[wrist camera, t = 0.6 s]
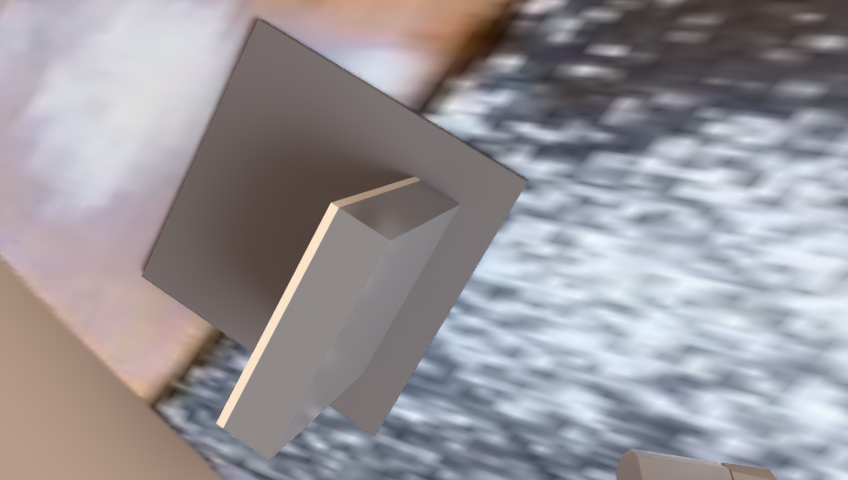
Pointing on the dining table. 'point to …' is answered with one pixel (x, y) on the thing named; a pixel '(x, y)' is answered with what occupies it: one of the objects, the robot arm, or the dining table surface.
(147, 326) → the dining table surface
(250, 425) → the glazed tile
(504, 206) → the felt mat
